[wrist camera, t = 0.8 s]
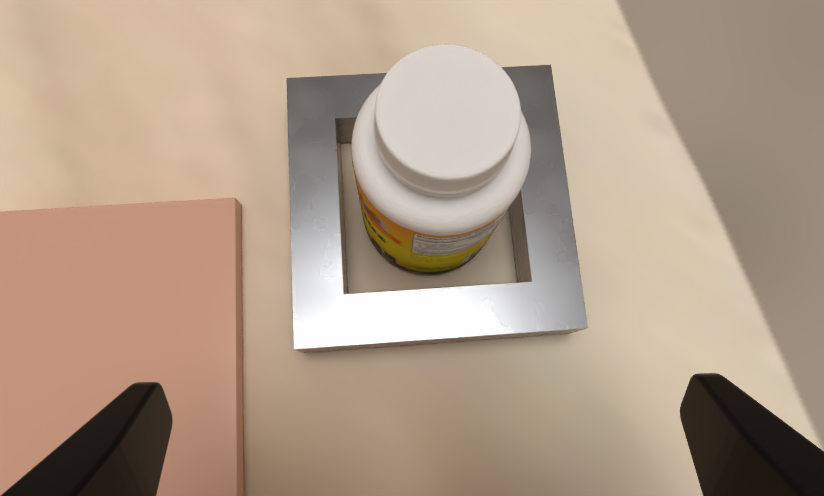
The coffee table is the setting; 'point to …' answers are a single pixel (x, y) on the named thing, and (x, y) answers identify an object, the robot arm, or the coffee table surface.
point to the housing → (438, 307)
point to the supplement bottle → (439, 157)
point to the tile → (124, 331)
